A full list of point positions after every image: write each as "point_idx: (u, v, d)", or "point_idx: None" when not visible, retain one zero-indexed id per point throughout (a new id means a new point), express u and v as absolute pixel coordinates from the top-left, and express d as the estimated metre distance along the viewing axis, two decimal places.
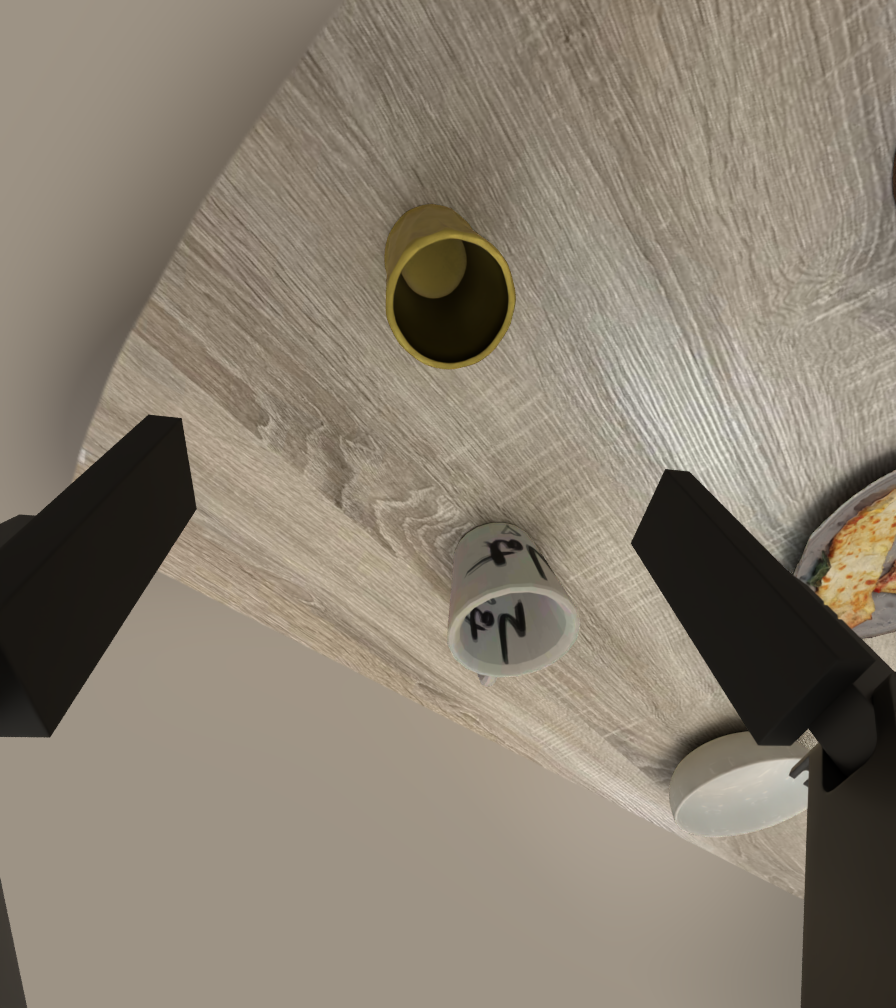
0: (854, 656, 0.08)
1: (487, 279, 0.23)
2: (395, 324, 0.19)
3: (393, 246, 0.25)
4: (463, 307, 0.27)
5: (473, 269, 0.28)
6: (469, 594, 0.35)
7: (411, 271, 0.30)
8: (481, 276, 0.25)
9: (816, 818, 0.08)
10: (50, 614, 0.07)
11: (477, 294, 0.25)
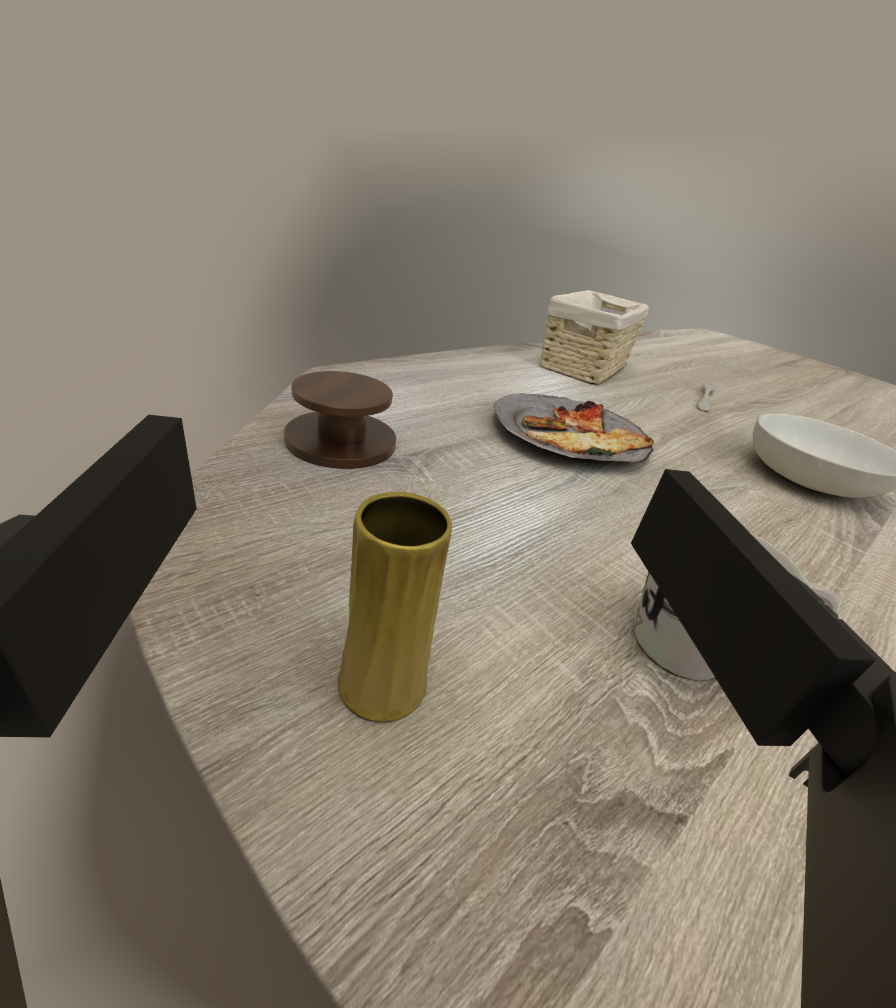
0: (854, 656, 0.08)
1: None
2: (417, 546, 0.24)
3: (365, 651, 0.28)
4: None
5: None
6: None
7: None
8: None
9: (816, 818, 0.08)
10: (49, 615, 0.07)
11: None
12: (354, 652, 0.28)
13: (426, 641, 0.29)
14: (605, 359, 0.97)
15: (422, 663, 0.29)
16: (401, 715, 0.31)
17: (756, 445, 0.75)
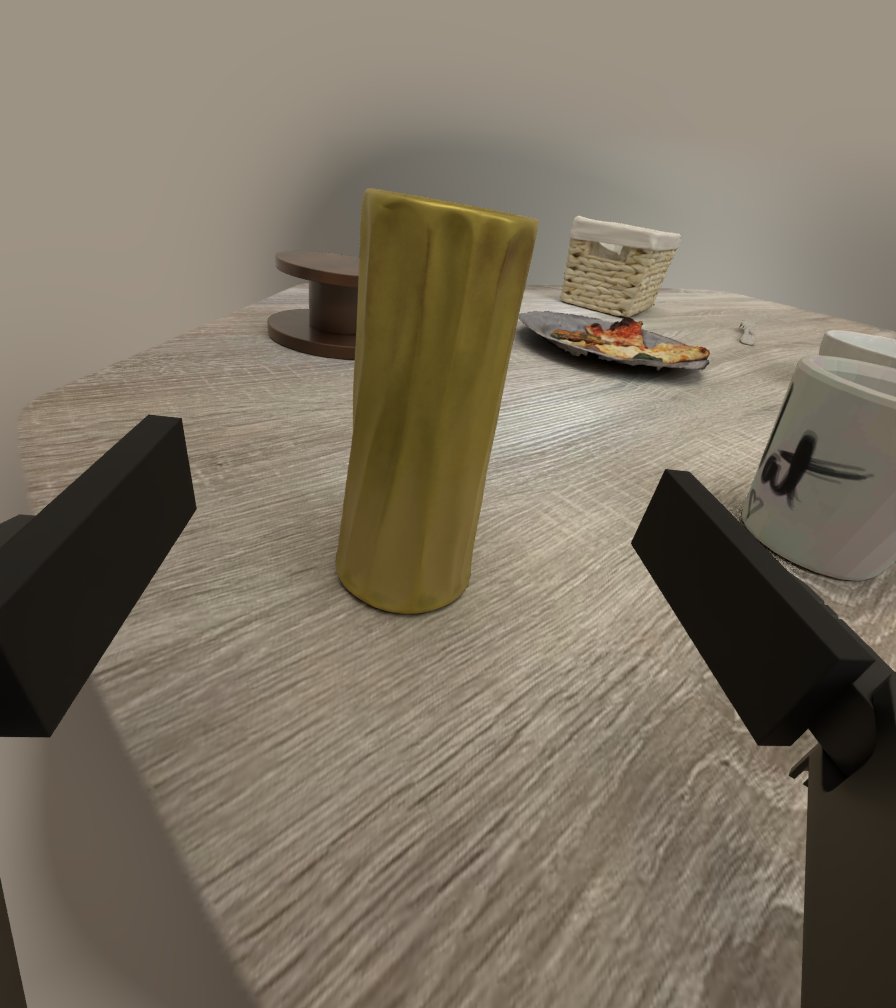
0: (854, 656, 0.08)
1: None
2: None
3: (381, 477, 0.16)
4: None
5: None
6: (894, 425, 0.21)
7: None
8: None
9: (817, 819, 0.08)
10: (49, 614, 0.07)
11: None
12: (362, 484, 0.17)
13: (481, 467, 0.17)
14: (636, 286, 0.85)
15: (472, 512, 0.18)
16: (436, 605, 0.19)
17: None
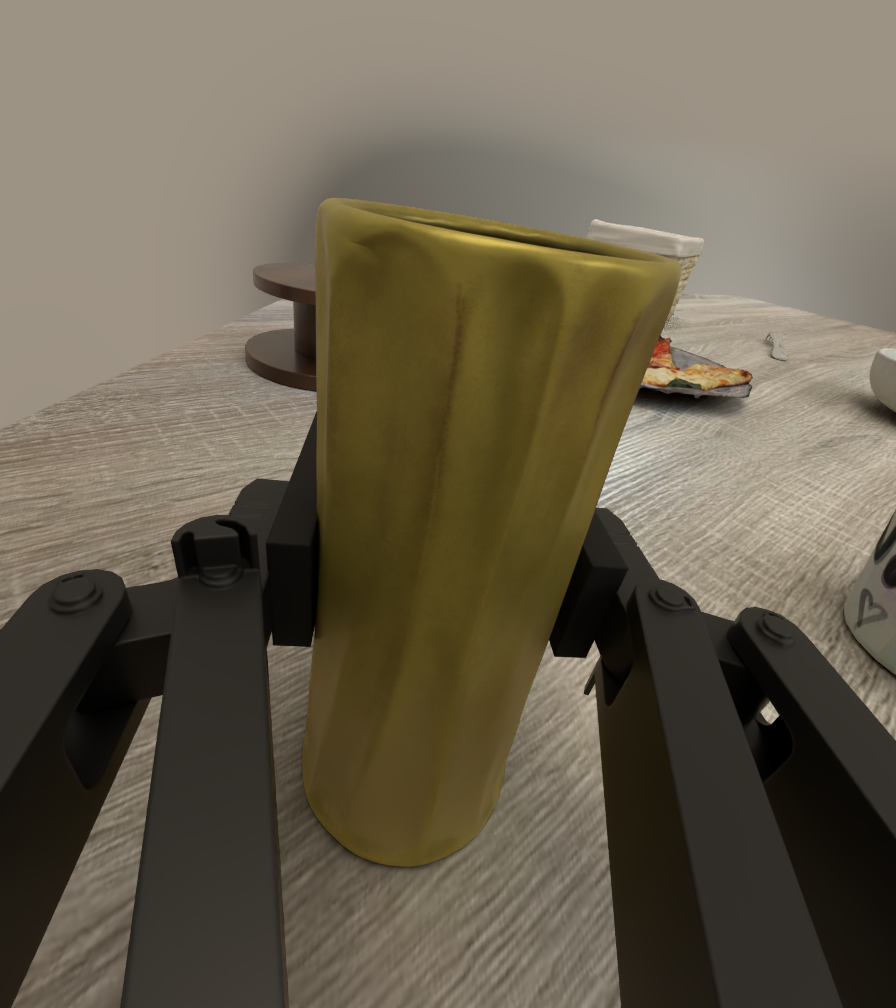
0: (611, 565, 0.09)
1: None
2: None
3: (365, 702, 0.09)
4: None
5: None
6: None
7: None
8: None
9: (605, 734, 0.09)
10: (317, 549, 0.10)
11: None
12: (333, 701, 0.10)
13: (536, 667, 0.10)
14: None
15: (517, 724, 0.11)
16: (455, 847, 0.12)
17: (881, 385, 0.56)
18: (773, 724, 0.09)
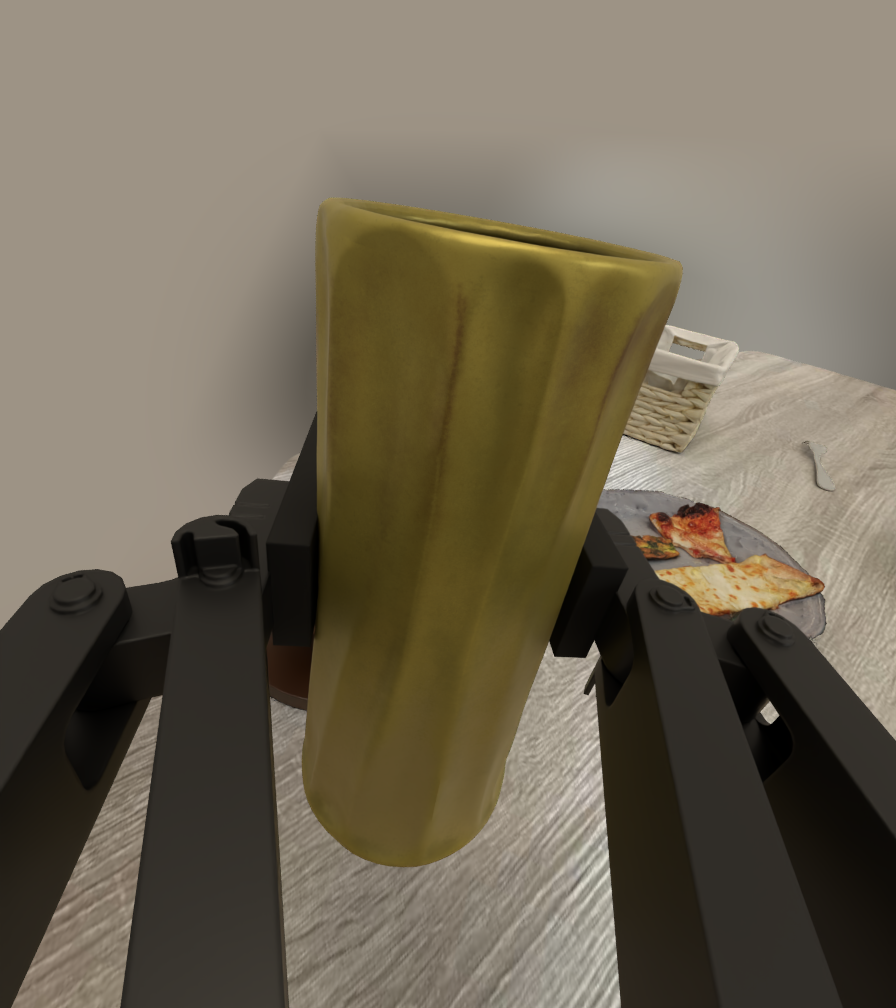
0: (611, 565, 0.09)
1: None
2: None
3: (365, 703, 0.09)
4: None
5: None
6: None
7: None
8: None
9: (605, 734, 0.09)
10: (317, 550, 0.10)
11: None
12: (333, 702, 0.10)
13: (536, 668, 0.10)
14: (695, 422, 0.71)
15: (517, 725, 0.11)
16: (455, 848, 0.12)
17: None
18: (773, 724, 0.09)
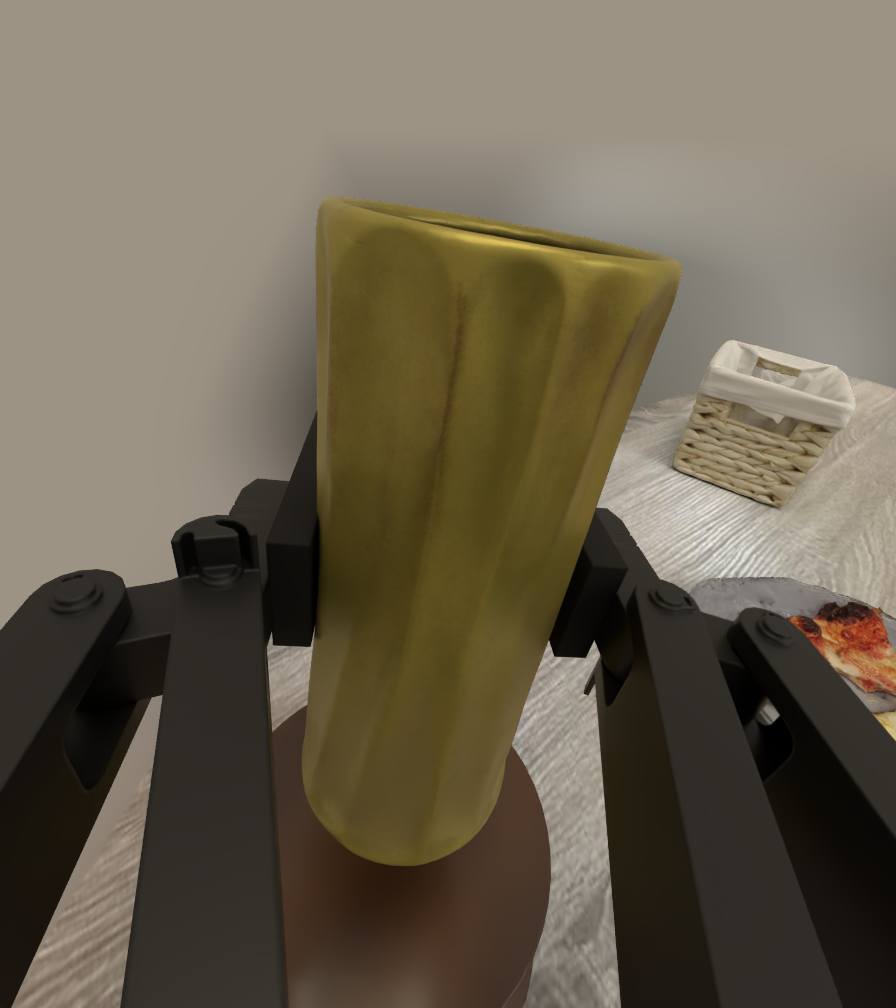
0: (611, 565, 0.09)
1: None
2: None
3: (365, 702, 0.09)
4: None
5: None
6: None
7: None
8: None
9: (605, 734, 0.09)
10: (316, 549, 0.10)
11: None
12: (333, 700, 0.10)
13: (536, 667, 0.10)
14: (805, 472, 0.56)
15: (517, 724, 0.11)
16: (455, 847, 0.12)
17: None
18: (773, 724, 0.09)
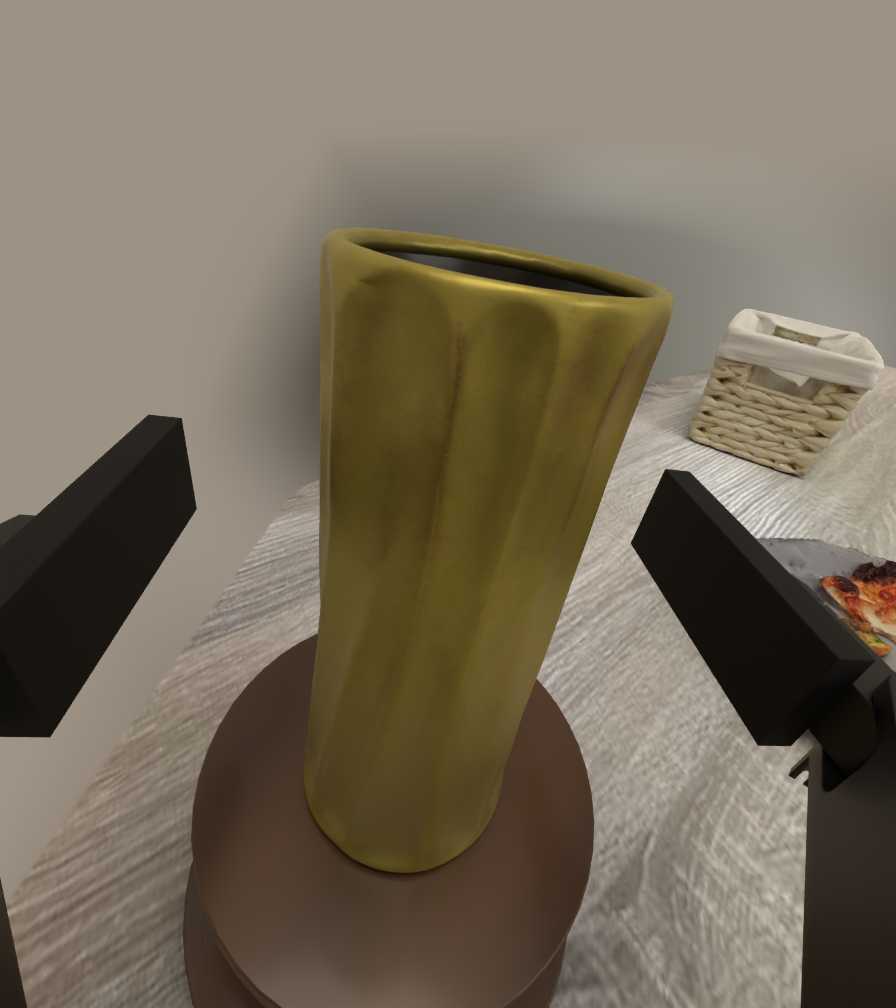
0: (854, 656, 0.08)
1: None
2: None
3: (366, 714, 0.10)
4: None
5: None
6: None
7: None
8: None
9: (817, 819, 0.08)
10: (50, 615, 0.07)
11: None
12: (335, 712, 0.10)
13: (534, 679, 0.10)
14: (829, 437, 0.54)
15: (515, 734, 0.11)
16: (454, 854, 0.13)
17: None
18: None
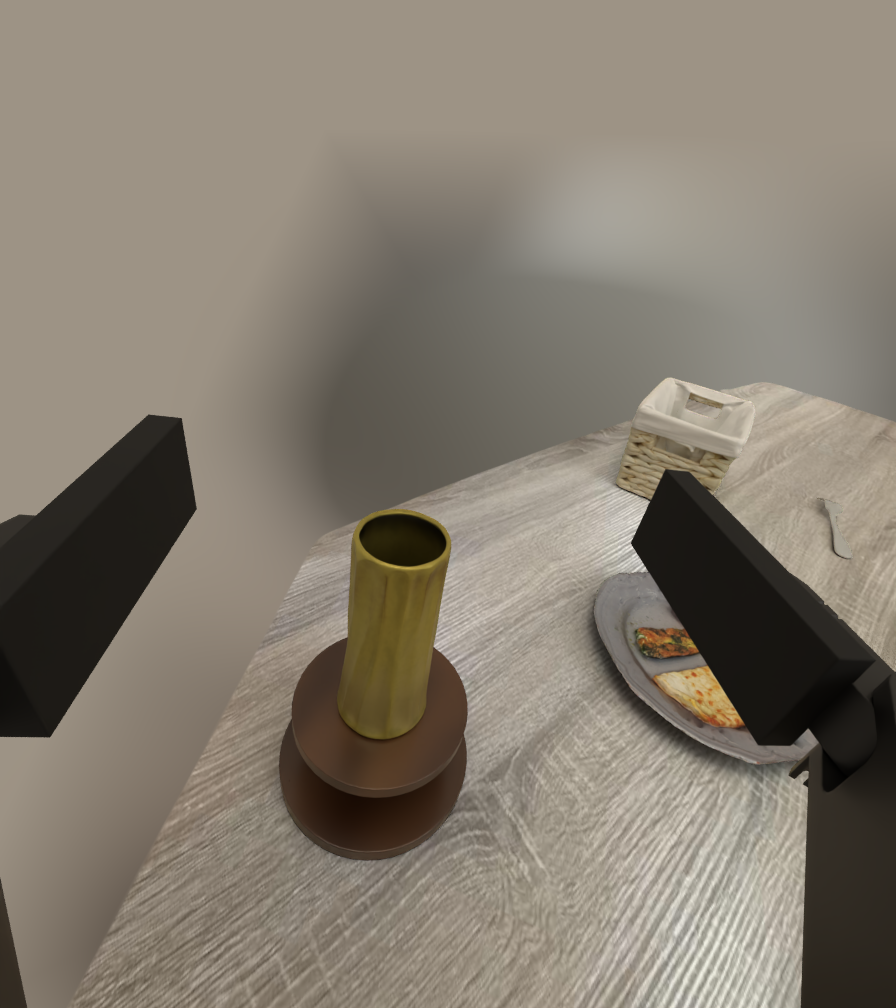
0: (854, 656, 0.08)
1: None
2: (416, 566, 0.23)
3: (364, 670, 0.27)
4: None
5: None
6: None
7: None
8: None
9: (816, 818, 0.08)
10: (49, 615, 0.07)
11: None
12: (353, 671, 0.28)
13: (426, 659, 0.28)
14: (713, 490, 0.72)
15: (422, 681, 0.29)
16: (401, 733, 0.31)
17: None
18: None
